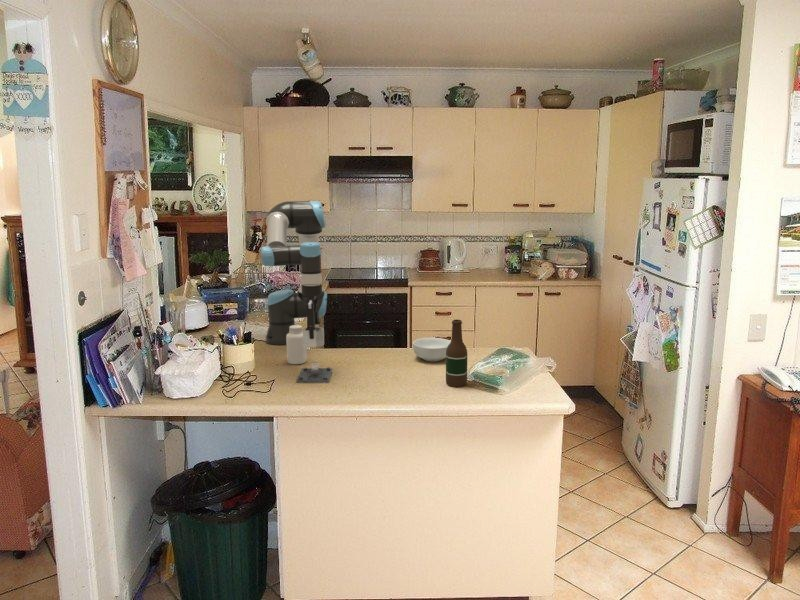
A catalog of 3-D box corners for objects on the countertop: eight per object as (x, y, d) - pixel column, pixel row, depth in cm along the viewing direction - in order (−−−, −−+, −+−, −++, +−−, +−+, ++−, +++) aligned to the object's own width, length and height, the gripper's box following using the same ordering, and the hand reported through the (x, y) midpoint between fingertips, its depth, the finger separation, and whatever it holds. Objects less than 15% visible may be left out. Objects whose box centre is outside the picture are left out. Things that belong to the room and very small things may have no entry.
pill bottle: (308, 359, 264) (307, 324, 261) (304, 365, 256) (302, 329, 253) (290, 358, 265) (288, 323, 262) (284, 364, 257) (283, 328, 254)
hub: (305, 342, 243) (304, 326, 242) (325, 341, 243) (324, 326, 242) (302, 347, 235) (301, 331, 234) (322, 347, 235) (322, 331, 234)
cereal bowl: (441, 367, 252) (442, 350, 250) (405, 361, 260) (405, 344, 259) (459, 356, 266) (460, 340, 265) (424, 351, 274) (424, 335, 273)
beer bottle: (441, 383, 232) (441, 320, 227) (456, 379, 237) (456, 316, 232) (456, 389, 226) (456, 323, 222) (471, 384, 231) (472, 320, 226)
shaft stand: (302, 370, 249) (301, 357, 248) (332, 370, 249) (332, 357, 247) (296, 382, 235) (295, 368, 234) (328, 382, 235) (328, 368, 234)
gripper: (305, 279, 245) (307, 337, 249) (297, 289, 225) (299, 351, 229) (325, 279, 245) (327, 337, 249) (318, 289, 225) (320, 351, 229)
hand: (313, 343), depth 239 cm, fingers closed on hub, 7 cm apart
